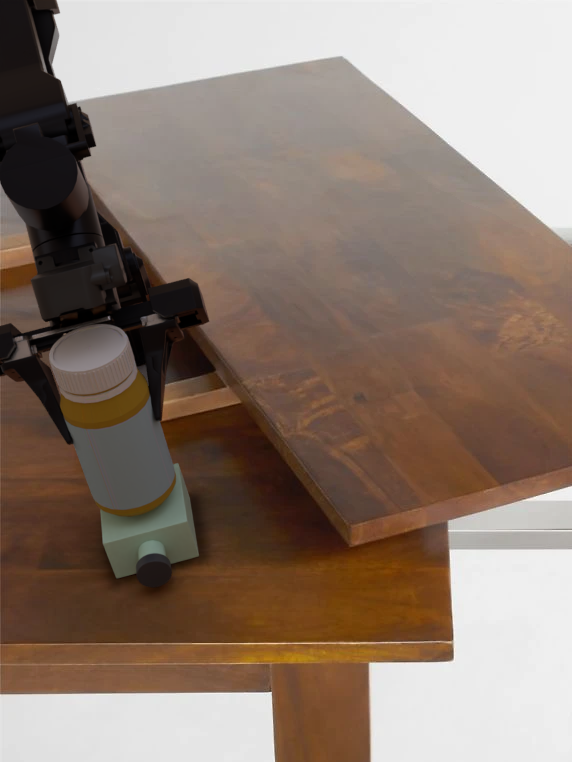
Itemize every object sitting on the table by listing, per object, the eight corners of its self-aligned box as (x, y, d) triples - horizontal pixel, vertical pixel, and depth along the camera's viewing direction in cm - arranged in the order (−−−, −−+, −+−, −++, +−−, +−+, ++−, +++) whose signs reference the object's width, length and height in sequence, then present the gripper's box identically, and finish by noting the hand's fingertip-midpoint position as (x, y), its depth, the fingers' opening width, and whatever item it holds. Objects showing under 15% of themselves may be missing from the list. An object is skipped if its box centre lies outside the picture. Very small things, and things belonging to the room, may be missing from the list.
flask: (111, 518, 120) (98, 483, 118) (189, 497, 121) (178, 462, 119) (118, 603, 112) (104, 568, 109) (203, 580, 112) (190, 544, 110)
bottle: (163, 522, 112) (115, 376, 102) (82, 519, 113) (28, 375, 104) (188, 464, 117) (145, 320, 108) (111, 462, 118) (62, 320, 109)
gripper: (-76, 249, 103) (-29, 451, 101) (170, 188, 104) (221, 385, 102) (-37, 284, 114) (6, 467, 112) (185, 228, 115) (232, 408, 113)
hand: (114, 432), depth 109 cm, fingers closed on bottle, 7 cm apart
